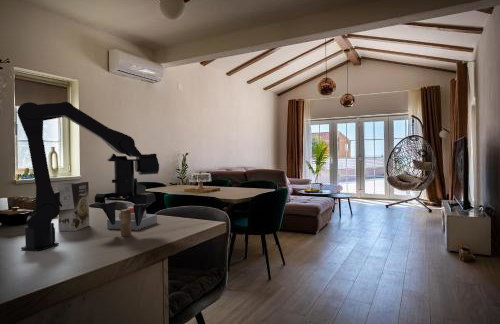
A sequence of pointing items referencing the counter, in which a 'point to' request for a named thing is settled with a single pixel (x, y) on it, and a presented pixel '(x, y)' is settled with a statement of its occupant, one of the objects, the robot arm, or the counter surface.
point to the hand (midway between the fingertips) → (125, 225)
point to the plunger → (131, 209)
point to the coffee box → (73, 206)
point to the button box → (134, 222)
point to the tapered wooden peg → (125, 222)
